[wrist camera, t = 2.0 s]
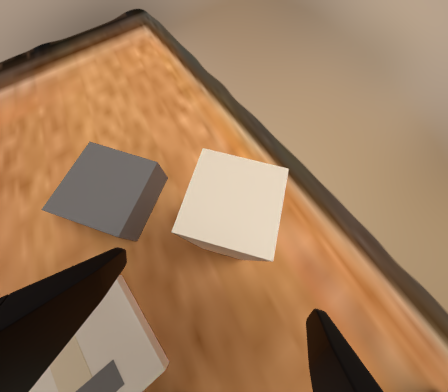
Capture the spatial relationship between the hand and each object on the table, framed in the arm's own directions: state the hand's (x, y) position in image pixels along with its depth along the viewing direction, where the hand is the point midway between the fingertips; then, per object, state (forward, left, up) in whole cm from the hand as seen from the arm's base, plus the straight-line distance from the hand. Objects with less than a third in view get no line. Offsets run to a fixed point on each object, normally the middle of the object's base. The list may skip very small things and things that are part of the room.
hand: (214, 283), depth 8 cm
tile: (-14, +1, -11) cm, 18 cm away
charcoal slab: (-4, +13, -11) cm, 18 cm away
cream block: (+3, +2, -11) cm, 11 cm away
